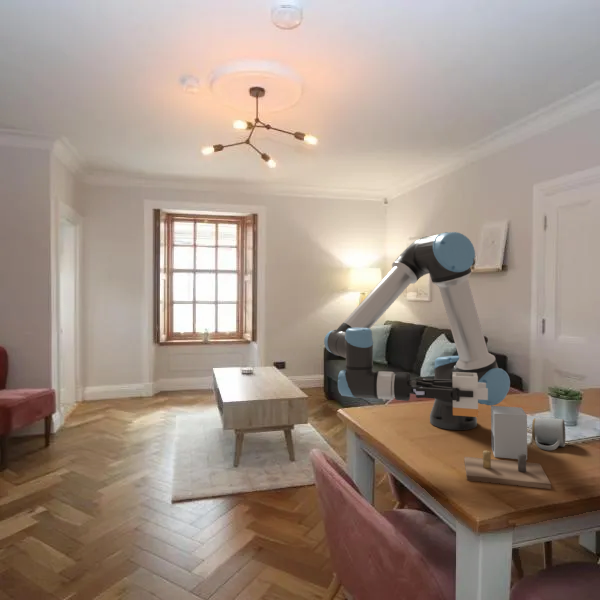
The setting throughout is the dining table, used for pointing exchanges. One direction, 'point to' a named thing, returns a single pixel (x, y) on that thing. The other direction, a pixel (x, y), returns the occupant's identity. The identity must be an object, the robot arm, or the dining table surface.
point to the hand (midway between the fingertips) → (486, 391)
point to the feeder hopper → (508, 431)
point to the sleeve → (464, 405)
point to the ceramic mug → (548, 432)
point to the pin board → (506, 471)
